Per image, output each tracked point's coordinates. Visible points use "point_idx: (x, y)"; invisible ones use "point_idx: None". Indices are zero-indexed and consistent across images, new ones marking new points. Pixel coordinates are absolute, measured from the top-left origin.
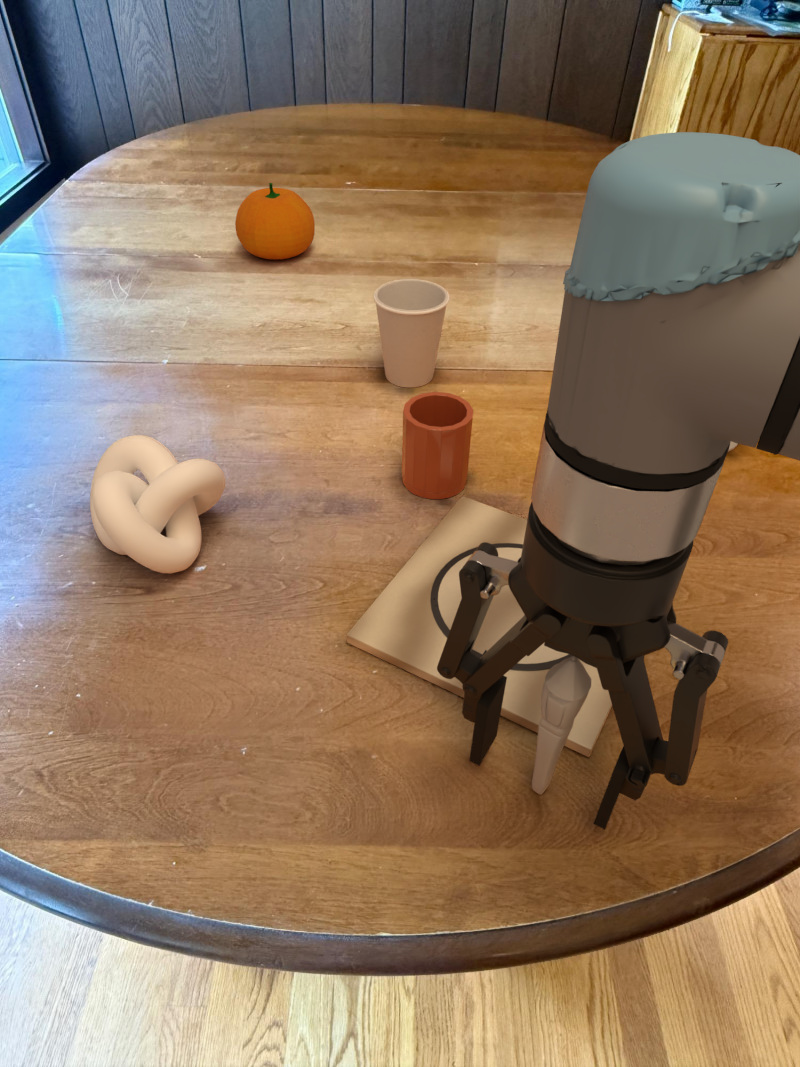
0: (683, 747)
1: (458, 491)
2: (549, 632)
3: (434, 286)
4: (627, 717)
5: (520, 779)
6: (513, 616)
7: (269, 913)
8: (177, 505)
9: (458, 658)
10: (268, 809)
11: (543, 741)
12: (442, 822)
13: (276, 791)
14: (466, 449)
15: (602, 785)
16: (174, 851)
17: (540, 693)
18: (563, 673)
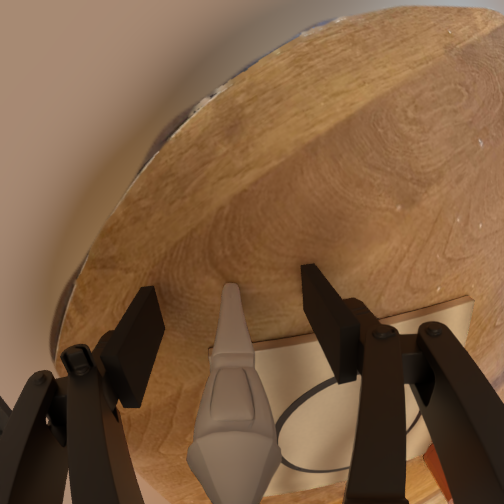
0: (12, 429)
1: (427, 451)
2: None
3: None
4: (85, 454)
5: (254, 285)
6: (350, 418)
7: (371, 22)
8: None
9: (444, 364)
10: (437, 101)
11: (237, 335)
12: (298, 186)
13: (443, 120)
14: (439, 481)
15: (180, 330)
16: (456, 40)
17: (288, 377)
18: (242, 487)
